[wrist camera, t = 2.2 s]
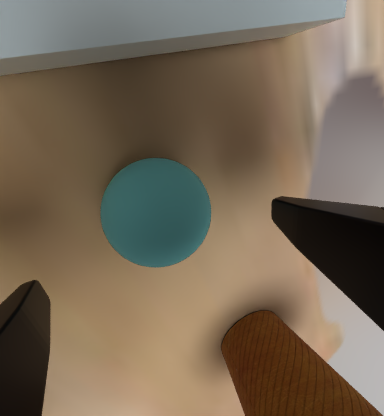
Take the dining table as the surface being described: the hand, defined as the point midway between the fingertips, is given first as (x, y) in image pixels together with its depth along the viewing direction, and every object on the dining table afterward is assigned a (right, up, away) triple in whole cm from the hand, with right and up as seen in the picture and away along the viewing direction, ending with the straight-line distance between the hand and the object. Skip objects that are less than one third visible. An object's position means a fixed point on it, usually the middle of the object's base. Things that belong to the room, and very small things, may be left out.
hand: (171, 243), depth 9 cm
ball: (-1, +1, +2) cm, 3 cm away
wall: (-3, +8, +1) cm, 9 cm away
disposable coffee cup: (+6, -11, +14) cm, 19 cm away
